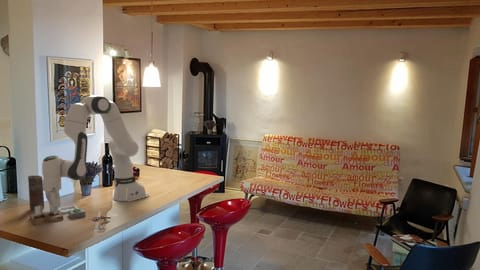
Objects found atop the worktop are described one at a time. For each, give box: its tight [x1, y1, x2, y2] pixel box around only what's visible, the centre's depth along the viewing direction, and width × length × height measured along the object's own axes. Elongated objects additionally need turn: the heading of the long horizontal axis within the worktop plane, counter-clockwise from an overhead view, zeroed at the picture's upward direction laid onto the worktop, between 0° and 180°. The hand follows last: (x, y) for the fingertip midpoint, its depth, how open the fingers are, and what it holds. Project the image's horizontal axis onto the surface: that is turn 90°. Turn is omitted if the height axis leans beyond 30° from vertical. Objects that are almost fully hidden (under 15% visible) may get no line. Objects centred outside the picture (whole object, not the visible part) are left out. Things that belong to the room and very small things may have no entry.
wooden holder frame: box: [29, 209, 64, 226], centre depth 197 cm, size 14×12×2 cm
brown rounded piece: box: [27, 175, 45, 212], centre depth 211 cm, size 8×7×20 cm
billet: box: [49, 204, 58, 216], centre depth 198 cm, size 4×4×8 cm
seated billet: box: [34, 205, 44, 219], centre depth 194 cm, size 4×4×8 cm
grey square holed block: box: [68, 207, 86, 219], centre depth 203 cm, size 7×7×3 cm
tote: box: [58, 205, 78, 215], centre depth 210 cm, size 9×8×2 cm
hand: (53, 211), depth 198 cm, fingers open, 8 cm apart
